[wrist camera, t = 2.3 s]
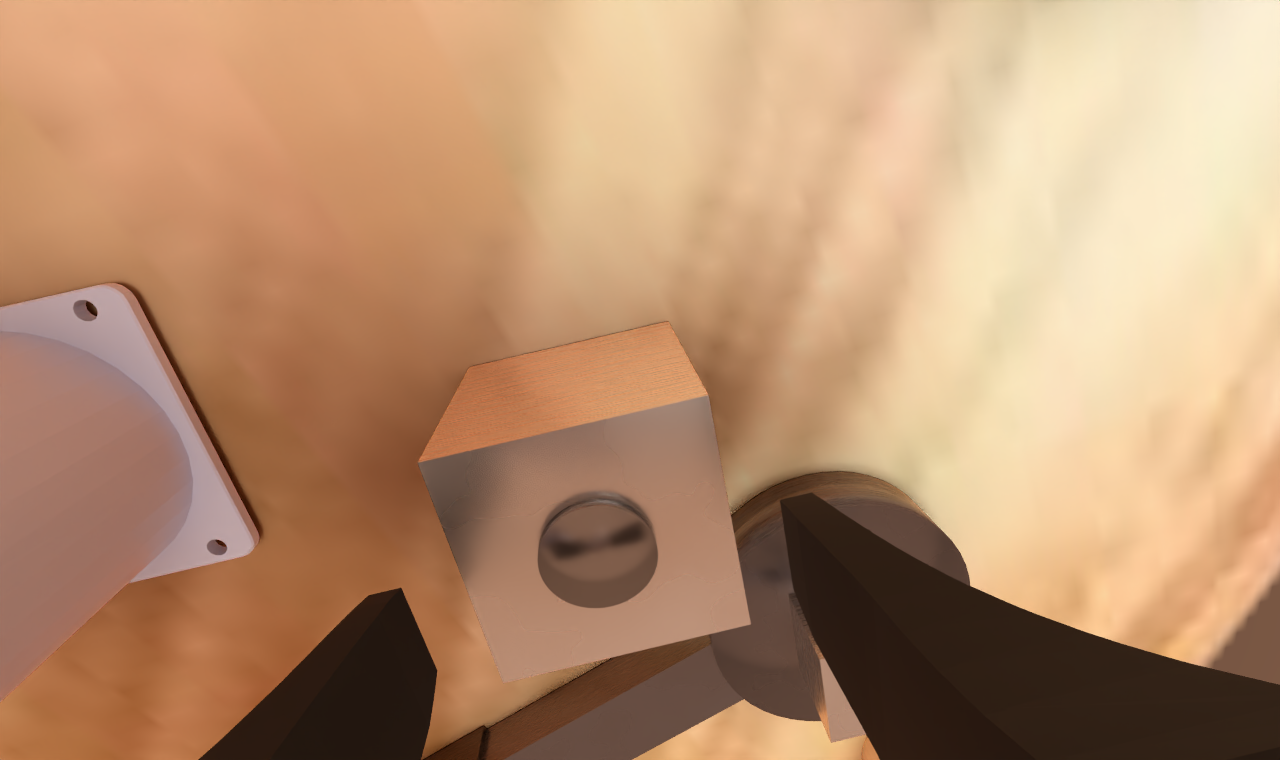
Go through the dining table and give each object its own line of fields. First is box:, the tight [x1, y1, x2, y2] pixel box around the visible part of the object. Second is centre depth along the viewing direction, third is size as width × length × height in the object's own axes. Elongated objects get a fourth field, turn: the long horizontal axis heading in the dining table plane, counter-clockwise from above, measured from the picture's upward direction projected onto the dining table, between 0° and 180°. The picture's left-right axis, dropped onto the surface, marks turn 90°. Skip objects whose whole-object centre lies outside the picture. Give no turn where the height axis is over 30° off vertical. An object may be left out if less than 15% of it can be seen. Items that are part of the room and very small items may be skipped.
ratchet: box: [424, 472, 970, 760], centre depth 18 cm, size 21×11×4 cm, turn 102°
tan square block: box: [418, 321, 751, 683], centre depth 15 cm, size 6×6×6 cm
